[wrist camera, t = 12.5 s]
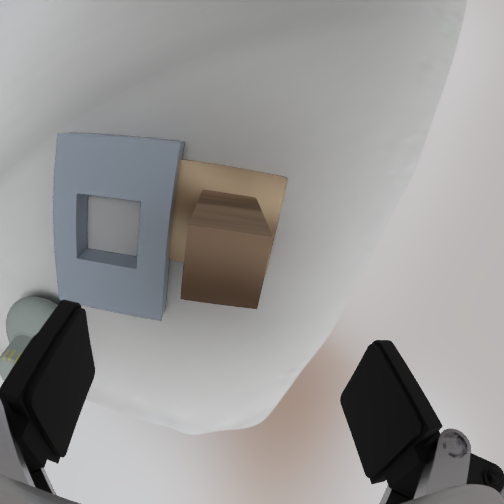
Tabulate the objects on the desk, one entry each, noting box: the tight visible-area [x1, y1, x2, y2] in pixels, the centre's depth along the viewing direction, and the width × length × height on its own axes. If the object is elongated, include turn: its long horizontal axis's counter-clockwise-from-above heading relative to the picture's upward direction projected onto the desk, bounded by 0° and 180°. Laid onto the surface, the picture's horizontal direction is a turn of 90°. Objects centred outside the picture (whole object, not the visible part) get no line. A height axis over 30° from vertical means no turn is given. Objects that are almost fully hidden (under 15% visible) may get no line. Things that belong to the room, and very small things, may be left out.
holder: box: [53, 133, 185, 321], centre depth 24 cm, size 16×11×2 cm
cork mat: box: [168, 159, 288, 274], centre depth 26 cm, size 9×9×1 cm
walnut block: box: [180, 189, 273, 309], centre depth 21 cm, size 4×4×10 cm
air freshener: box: [0, 296, 58, 381], centre depth 25 cm, size 11×8×10 cm
